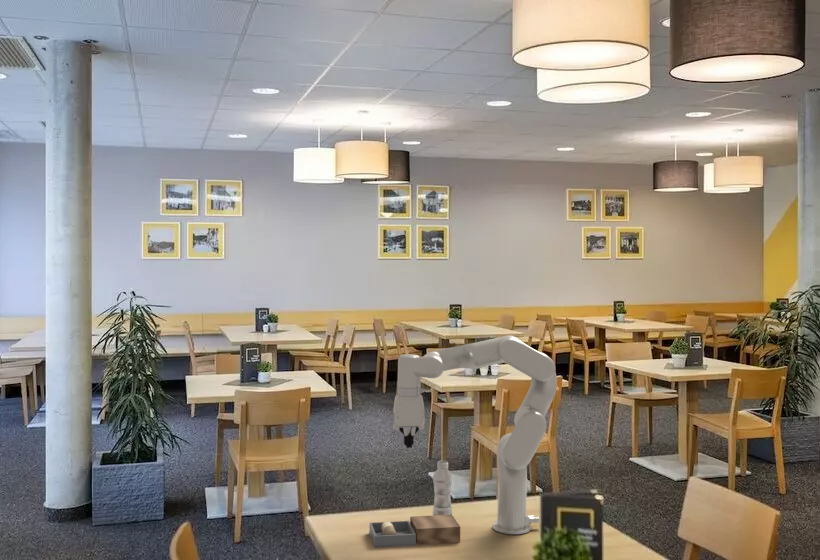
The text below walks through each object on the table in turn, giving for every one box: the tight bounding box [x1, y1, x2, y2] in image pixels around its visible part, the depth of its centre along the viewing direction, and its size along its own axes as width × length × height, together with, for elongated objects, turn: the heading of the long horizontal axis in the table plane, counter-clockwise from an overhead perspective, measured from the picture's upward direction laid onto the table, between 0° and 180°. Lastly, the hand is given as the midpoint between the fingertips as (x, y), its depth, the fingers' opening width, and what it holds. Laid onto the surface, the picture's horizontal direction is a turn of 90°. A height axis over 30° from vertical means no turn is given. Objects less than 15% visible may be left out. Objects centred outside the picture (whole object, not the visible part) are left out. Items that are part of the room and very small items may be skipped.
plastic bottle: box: [432, 460, 453, 516], centre depth 280 cm, size 6×7×20 cm
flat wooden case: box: [409, 514, 461, 546], centre depth 264 cm, size 14×12×5 cm
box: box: [369, 520, 417, 549], centre depth 261 cm, size 13×13×4 cm
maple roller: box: [381, 521, 397, 535], centre depth 261 cm, size 4×8×4 cm
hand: (408, 446), depth 272 cm, fingers closed
